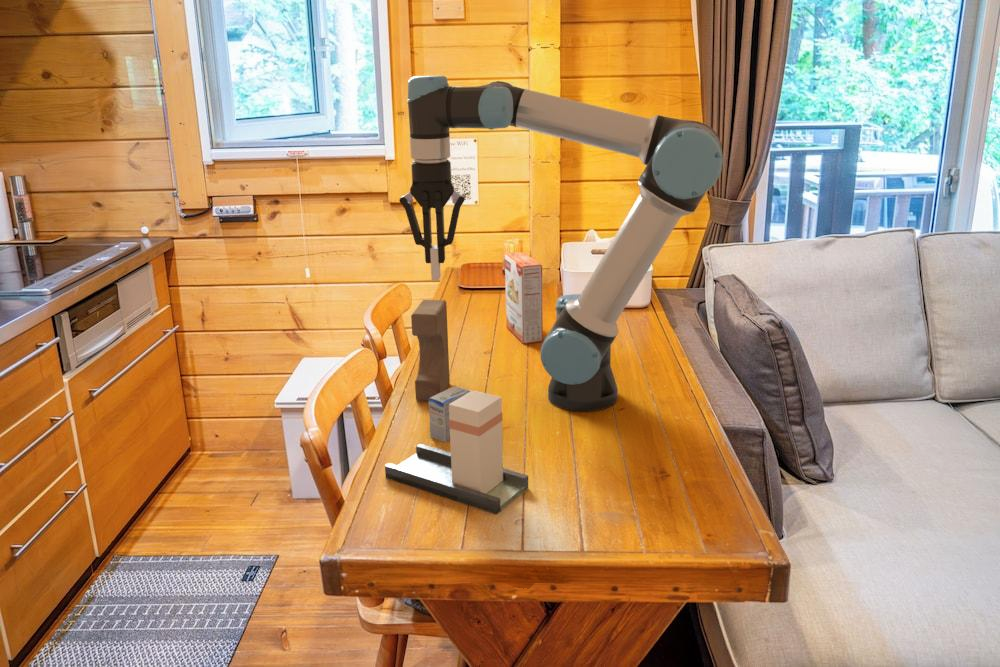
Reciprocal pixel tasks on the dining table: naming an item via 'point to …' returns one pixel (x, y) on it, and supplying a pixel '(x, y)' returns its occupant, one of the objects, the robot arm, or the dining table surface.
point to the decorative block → (431, 348)
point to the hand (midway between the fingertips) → (436, 278)
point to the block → (476, 441)
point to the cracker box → (524, 297)
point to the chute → (436, 477)
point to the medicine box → (443, 412)
